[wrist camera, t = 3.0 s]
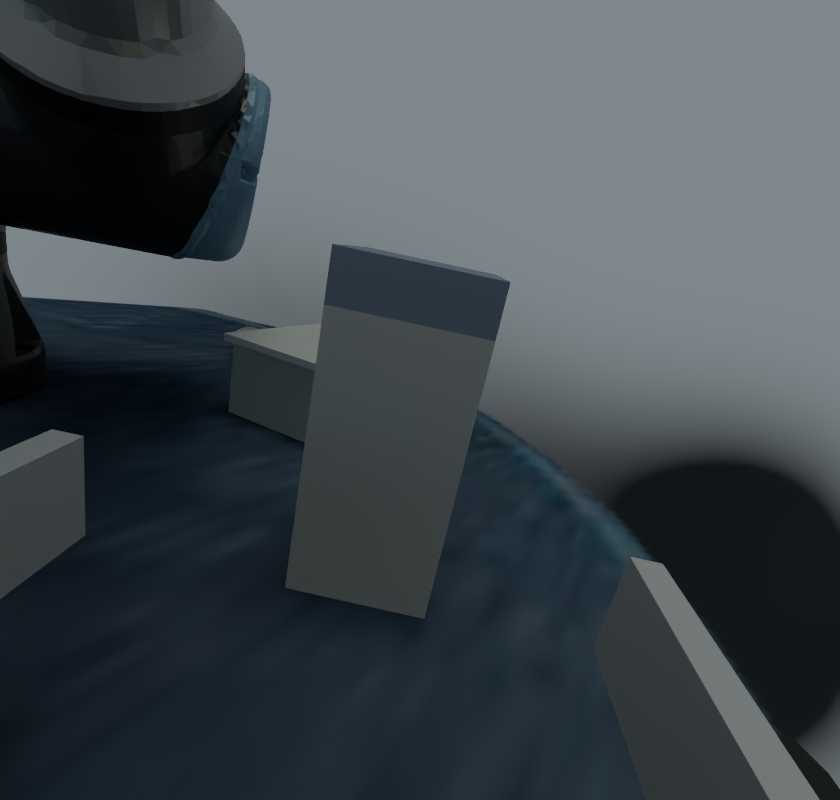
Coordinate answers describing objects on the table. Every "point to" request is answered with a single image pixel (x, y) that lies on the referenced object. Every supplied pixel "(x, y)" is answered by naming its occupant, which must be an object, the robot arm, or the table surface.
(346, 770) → the table surface
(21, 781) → the table surface
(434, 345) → the milk carton
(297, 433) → the podium
